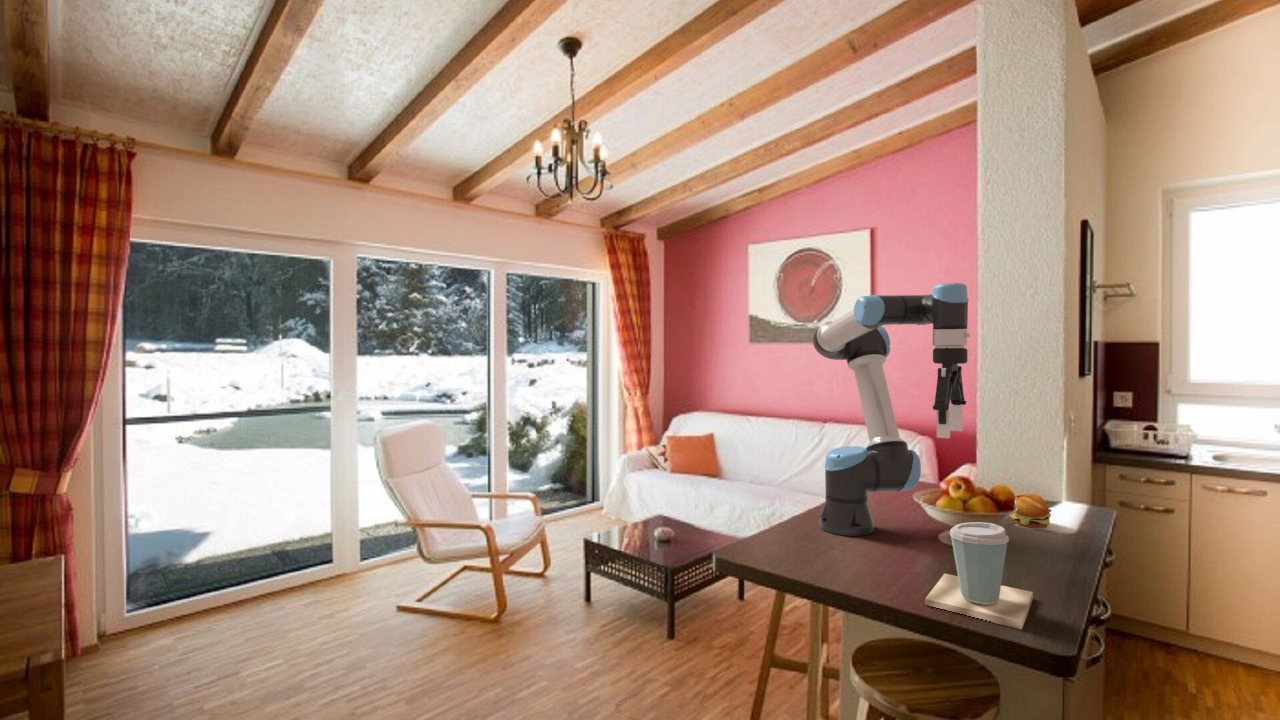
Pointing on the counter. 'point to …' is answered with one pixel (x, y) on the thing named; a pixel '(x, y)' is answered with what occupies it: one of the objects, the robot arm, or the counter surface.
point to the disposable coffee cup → (979, 560)
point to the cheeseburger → (1031, 511)
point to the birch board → (1004, 612)
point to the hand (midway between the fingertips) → (949, 434)
